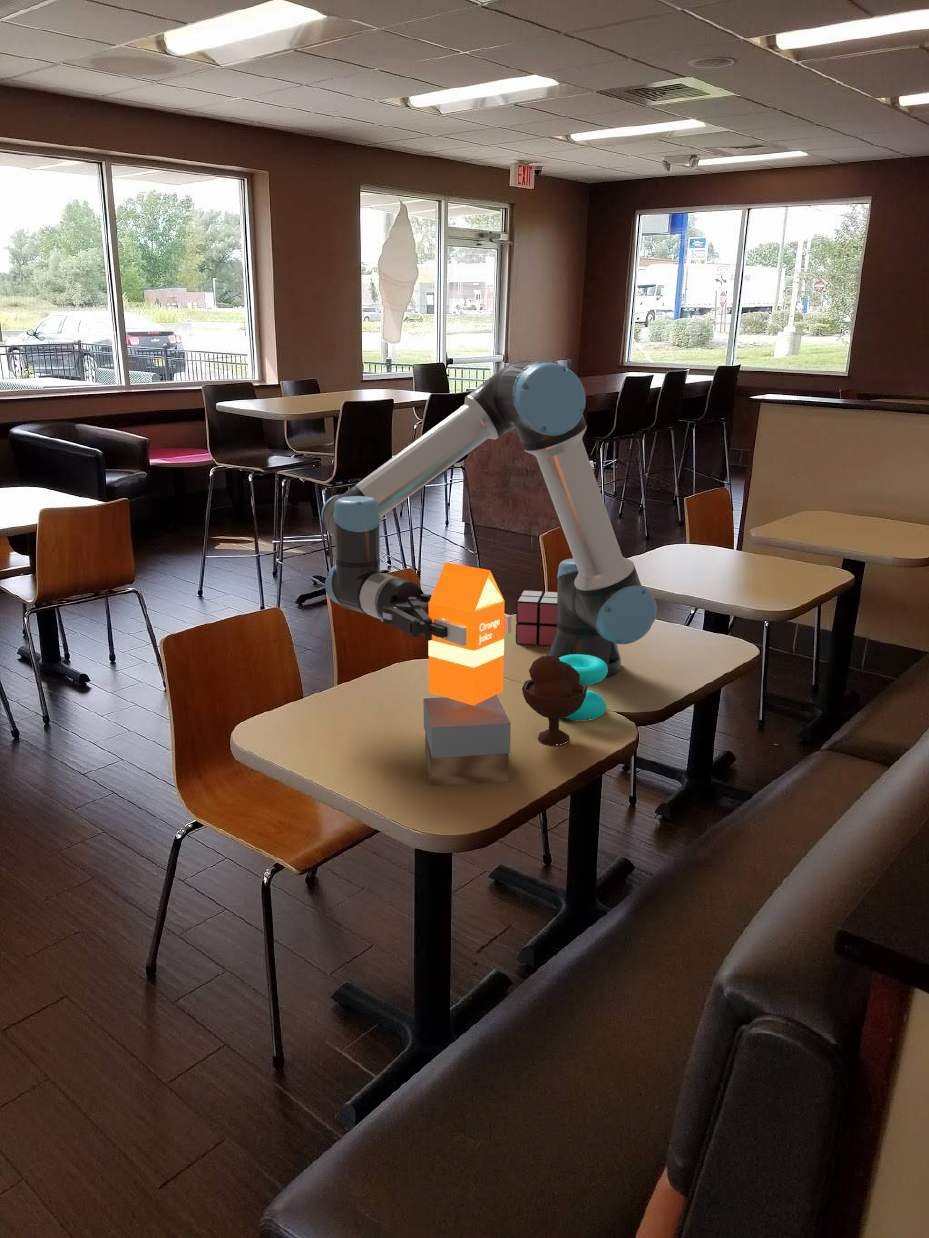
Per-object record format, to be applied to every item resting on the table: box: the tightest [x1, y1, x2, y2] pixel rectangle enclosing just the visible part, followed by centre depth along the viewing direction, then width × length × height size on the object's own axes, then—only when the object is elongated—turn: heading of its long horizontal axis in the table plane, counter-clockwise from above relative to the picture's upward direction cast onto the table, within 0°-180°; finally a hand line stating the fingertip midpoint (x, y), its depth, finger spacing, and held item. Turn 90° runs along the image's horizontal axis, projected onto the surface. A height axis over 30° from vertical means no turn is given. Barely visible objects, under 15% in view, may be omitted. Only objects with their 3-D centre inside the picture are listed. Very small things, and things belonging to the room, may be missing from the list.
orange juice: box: [427, 561, 505, 705], centre depth 141 cm, size 8×9×20 cm
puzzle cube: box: [515, 590, 557, 647], centre depth 210 cm, size 10×10×10 cm
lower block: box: [424, 732, 510, 786], centre depth 148 cm, size 12×12×5 cm
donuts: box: [559, 654, 608, 721], centre depth 168 cm, size 10×10×10 cm
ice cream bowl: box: [521, 654, 589, 746], centre depth 156 cm, size 11×11×15 cm
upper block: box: [422, 694, 512, 758], centre depth 146 cm, size 12×12×5 cm
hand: (487, 630), depth 138 cm, fingers closed on orange juice, 8 cm apart
